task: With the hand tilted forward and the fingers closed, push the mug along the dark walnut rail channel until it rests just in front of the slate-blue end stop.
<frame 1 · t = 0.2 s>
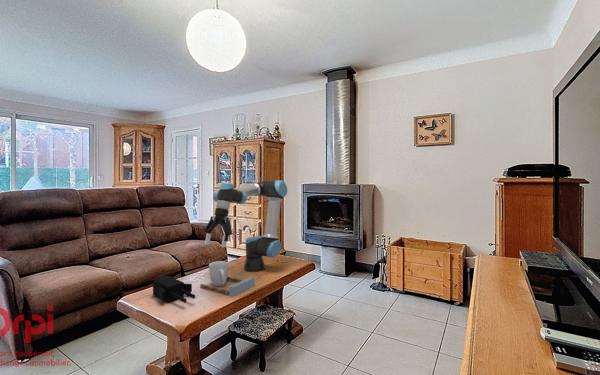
hand: (214, 246, 164), 28 cm above the table, tool tilted 15°, fingers open, 13 cm apart
channel: (232, 288, 175), on the table
mug: (219, 285, 181), on the table
stop: (242, 290, 171), on the table
black power adapter: (175, 300, 160), on the table
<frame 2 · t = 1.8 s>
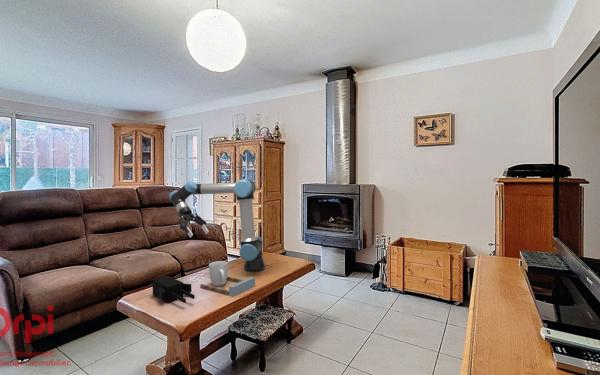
hand: (199, 234, 190), 29 cm above the table, tool tilted 45°, fingers open, 12 cm apart
nothing on the table moved.
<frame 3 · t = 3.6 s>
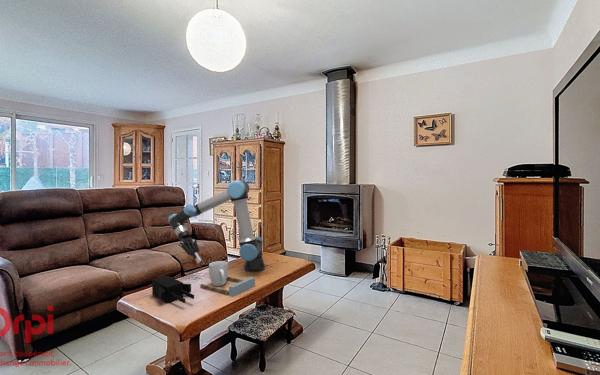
hand: (199, 261, 190), 12 cm above the table, tool tilted 45°, fingers closed
nothing on the table moved.
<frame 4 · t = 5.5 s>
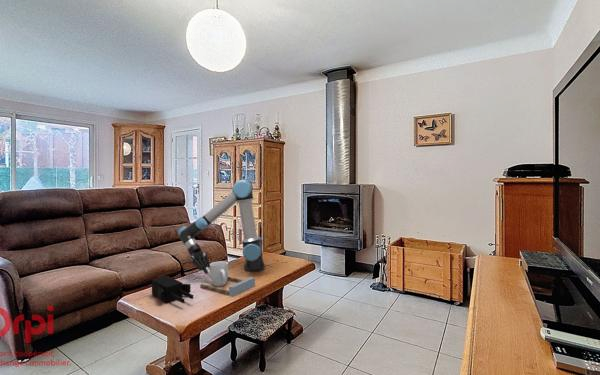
hand: (210, 276, 184), 4 cm above the table, tool tilted 45°, fingers closed
mug: (220, 285, 181), on the table, touching gripper
everything else where it was.
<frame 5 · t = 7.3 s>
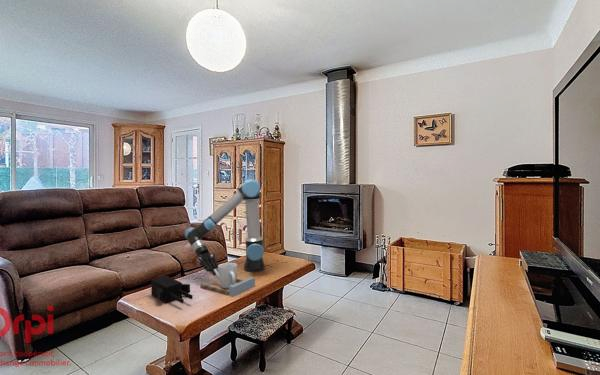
hand: (219, 278, 180), 4 cm above the table, tool tilted 45°, fingers closed
mug: (228, 287, 177), on the table, touching gripper
everything else where it was.
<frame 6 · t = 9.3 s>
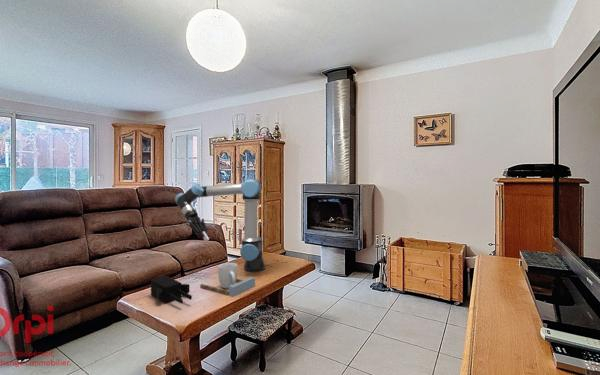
hand: (207, 240, 188), 26 cm above the table, tool tilted 45°, fingers closed
mug: (228, 287, 177), on the table
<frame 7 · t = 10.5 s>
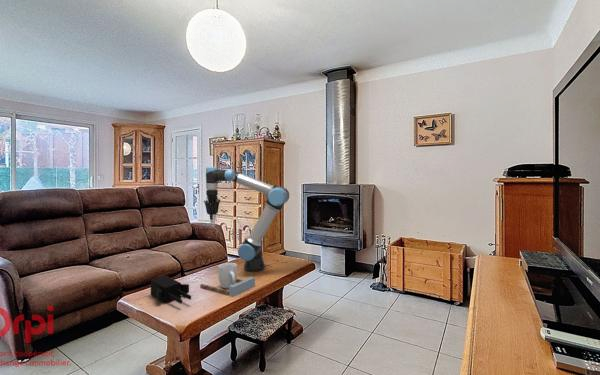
hand: (212, 224, 202), 34 cm above the table, tool pointing down, fingers closed
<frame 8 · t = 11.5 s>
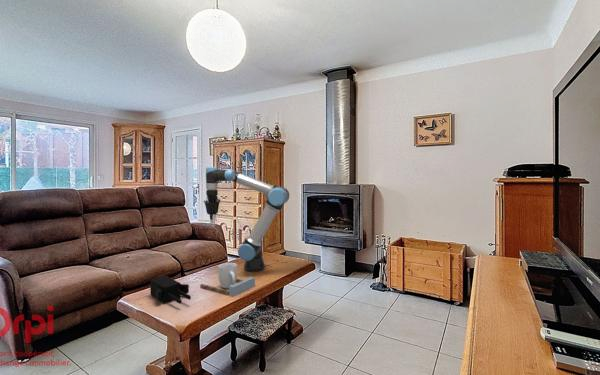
hand: (212, 224, 202), 34 cm above the table, tool pointing down, fingers closed
at the end: mug inside the target area (2.7 cm from its centre), on the table; mug tilted 0°; mug moved 8.1 cm from its start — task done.
